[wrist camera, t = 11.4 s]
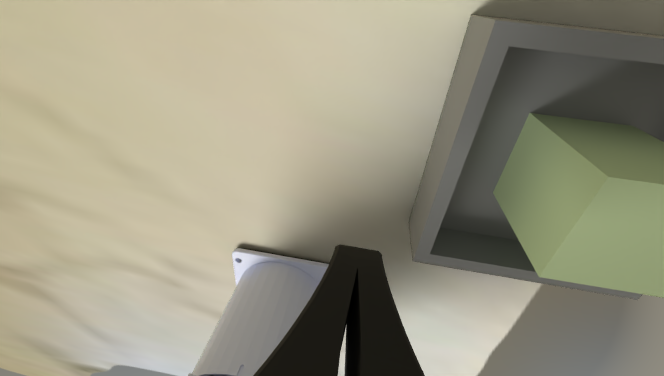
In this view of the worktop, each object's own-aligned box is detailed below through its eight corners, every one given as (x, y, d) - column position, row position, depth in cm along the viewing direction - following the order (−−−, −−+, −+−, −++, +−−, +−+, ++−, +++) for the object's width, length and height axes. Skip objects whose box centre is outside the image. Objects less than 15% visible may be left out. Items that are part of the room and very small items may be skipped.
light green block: (579, 205, 16) (664, 297, 11) (492, 192, 17) (539, 276, 12) (633, 125, 14) (773, 199, 9) (529, 113, 14) (608, 176, 9)
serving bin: (598, 253, 19) (637, 299, 16) (408, 222, 20) (412, 261, 17) (766, 47, 12) (883, 63, 9) (471, 14, 13) (495, 20, 10)
